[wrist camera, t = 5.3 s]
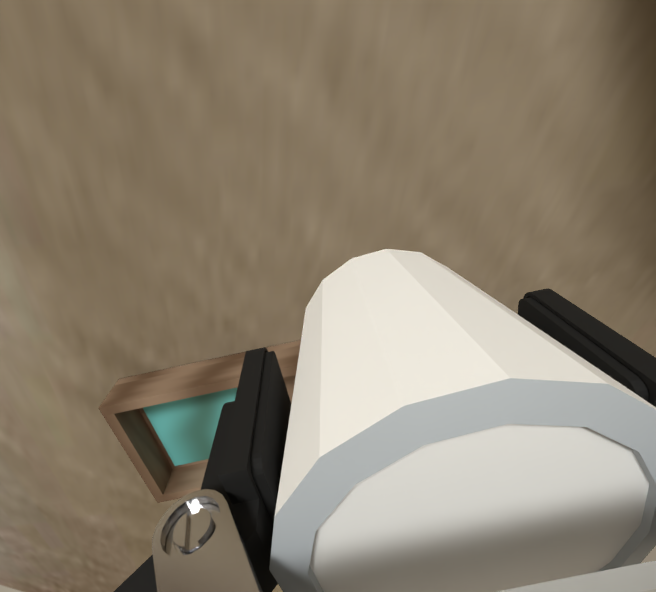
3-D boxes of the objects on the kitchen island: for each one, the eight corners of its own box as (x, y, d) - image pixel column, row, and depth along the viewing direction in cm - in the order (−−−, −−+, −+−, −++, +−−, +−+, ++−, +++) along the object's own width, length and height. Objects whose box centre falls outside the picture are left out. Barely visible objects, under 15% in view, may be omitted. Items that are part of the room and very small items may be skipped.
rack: (492, 298, 29) (516, 318, 26) (492, 404, 34) (511, 431, 31) (118, 379, 29) (98, 408, 26) (171, 472, 34) (159, 506, 31)
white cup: (525, 264, 11) (804, 439, 5) (432, 421, 14) (540, 661, 8) (320, 197, 10) (358, 324, 4) (261, 385, 13) (224, 643, 6)
